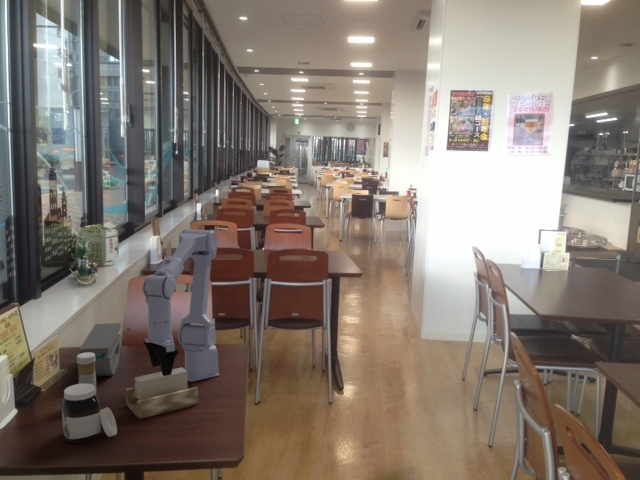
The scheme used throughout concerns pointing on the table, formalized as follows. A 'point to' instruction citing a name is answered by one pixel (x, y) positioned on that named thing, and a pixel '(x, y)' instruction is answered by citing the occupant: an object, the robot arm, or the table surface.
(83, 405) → the spread jar
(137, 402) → the wooden compartment tray
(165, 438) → the table surface
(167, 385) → the grayish beige rectangular block
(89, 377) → the sprinkles bottle
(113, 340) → the grey long box
